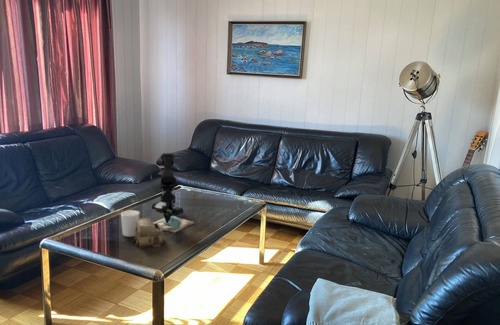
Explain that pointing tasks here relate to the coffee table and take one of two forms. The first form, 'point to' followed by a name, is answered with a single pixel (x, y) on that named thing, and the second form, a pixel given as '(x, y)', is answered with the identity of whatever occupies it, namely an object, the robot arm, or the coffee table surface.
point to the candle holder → (129, 222)
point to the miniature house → (148, 233)
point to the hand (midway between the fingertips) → (167, 222)
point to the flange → (173, 222)
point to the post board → (163, 226)
